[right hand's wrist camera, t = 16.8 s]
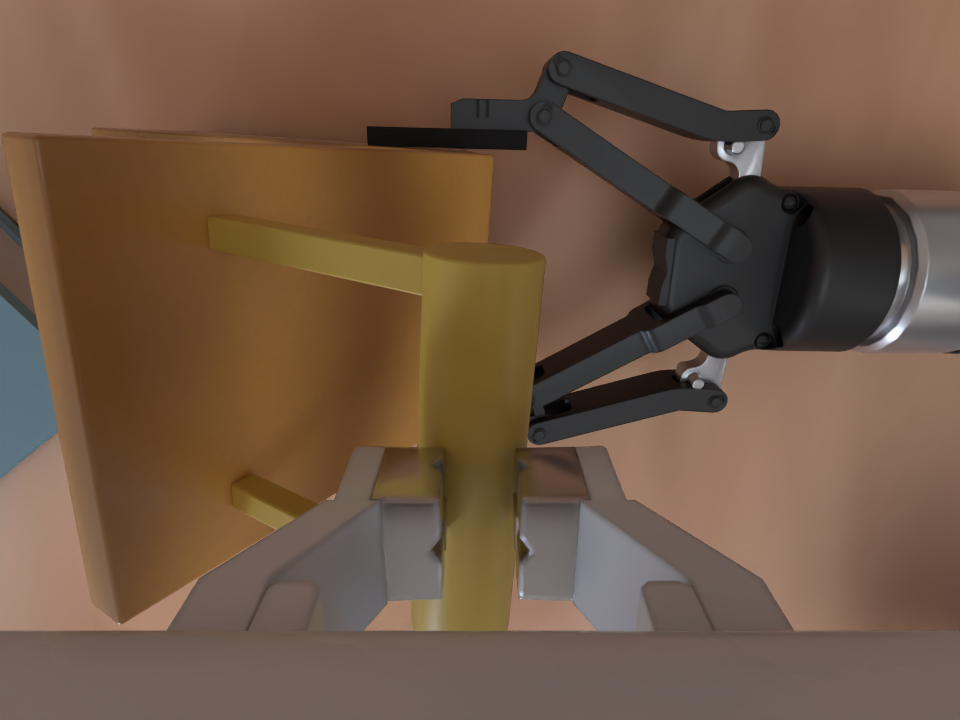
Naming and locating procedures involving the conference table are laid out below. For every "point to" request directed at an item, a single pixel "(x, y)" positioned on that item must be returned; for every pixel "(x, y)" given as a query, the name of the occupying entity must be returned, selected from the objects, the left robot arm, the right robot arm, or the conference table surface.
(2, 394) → the book
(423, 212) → the lid
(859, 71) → the conference table surface
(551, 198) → the conference table surface
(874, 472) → the conference table surface
